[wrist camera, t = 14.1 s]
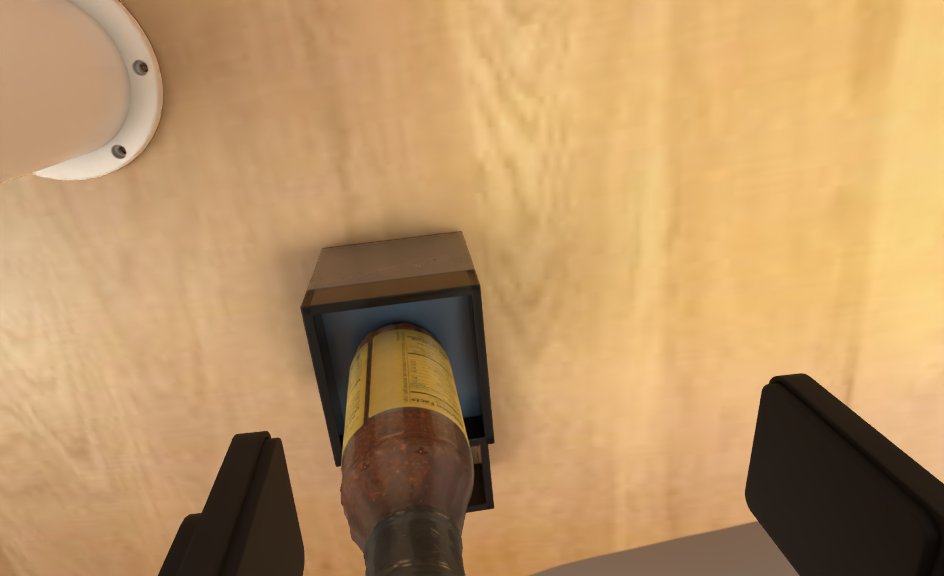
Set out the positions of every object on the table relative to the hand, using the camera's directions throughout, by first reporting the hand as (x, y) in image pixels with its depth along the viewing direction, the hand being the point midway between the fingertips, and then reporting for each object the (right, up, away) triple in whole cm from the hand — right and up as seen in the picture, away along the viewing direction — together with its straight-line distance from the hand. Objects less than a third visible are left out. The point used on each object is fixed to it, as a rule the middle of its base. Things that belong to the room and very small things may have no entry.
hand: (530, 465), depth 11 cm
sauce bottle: (-6, -1, +27) cm, 27 cm away
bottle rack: (-6, -3, +36) cm, 37 cm away
